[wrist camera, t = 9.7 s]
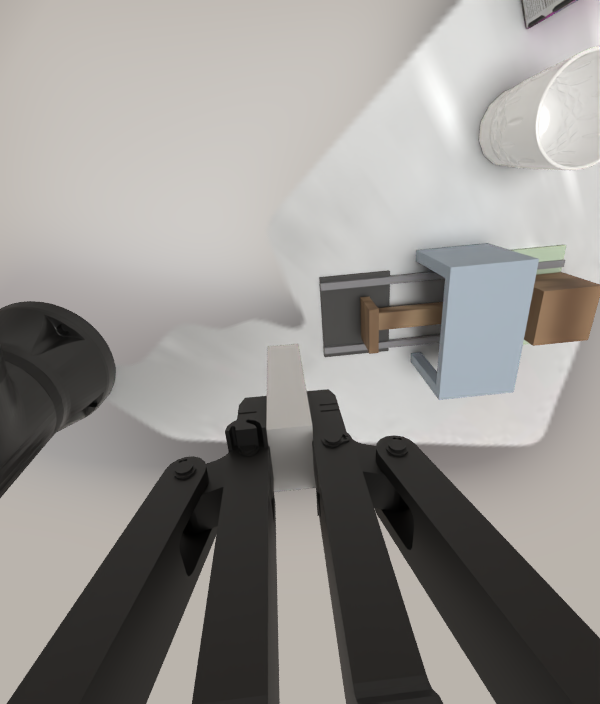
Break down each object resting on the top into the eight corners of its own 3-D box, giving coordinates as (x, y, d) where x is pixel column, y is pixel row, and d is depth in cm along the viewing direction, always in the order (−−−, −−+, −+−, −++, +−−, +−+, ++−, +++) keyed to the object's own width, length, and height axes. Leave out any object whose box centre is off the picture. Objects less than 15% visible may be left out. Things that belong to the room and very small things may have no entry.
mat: (485, 347, 47) (486, 348, 46) (499, 251, 42) (500, 251, 41) (543, 341, 47) (545, 342, 47) (564, 244, 42) (566, 245, 41)
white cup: (476, 183, 38) (537, 184, 29) (468, 96, 35) (534, 67, 26) (552, 158, 38) (638, 151, 29) (551, 67, 35) (648, 27, 25)
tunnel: (325, 370, 47) (335, 410, 39) (318, 259, 41) (328, 279, 33) (542, 348, 47) (597, 383, 39) (566, 235, 41) (637, 249, 33)
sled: (360, 339, 45) (371, 361, 39) (359, 292, 42) (371, 308, 37) (550, 320, 45) (588, 340, 40) (561, 272, 43) (602, 285, 37)
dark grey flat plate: (324, 356, 46) (324, 357, 46) (319, 277, 42) (319, 277, 42) (387, 350, 46) (388, 350, 46) (389, 270, 42) (389, 271, 42)
